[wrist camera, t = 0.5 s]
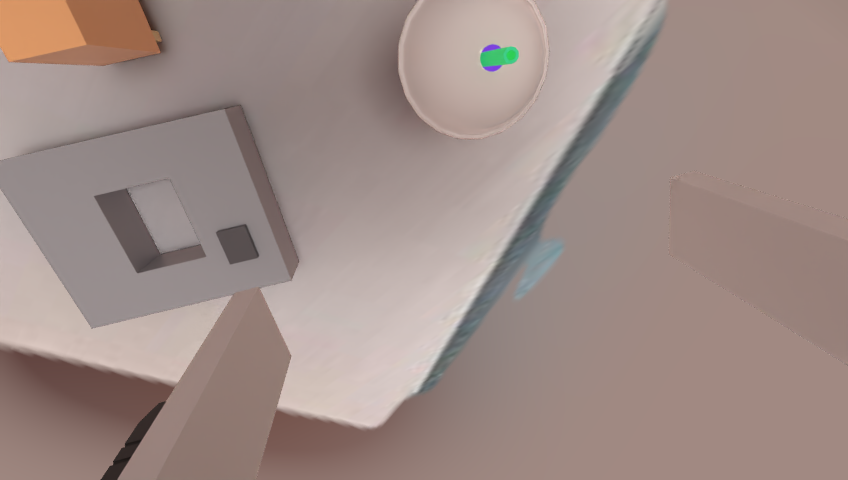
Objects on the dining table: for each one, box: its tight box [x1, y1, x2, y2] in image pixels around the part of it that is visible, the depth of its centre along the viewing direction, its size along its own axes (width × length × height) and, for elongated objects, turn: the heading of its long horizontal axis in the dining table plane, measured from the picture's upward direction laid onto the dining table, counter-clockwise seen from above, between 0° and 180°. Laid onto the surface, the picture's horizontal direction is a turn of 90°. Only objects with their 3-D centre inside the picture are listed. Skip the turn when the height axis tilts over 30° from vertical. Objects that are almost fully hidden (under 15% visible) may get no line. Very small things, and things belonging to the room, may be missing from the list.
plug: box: [0, 0, 162, 66], centre depth 26 cm, size 5×4×10 cm
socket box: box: [0, 105, 299, 328], centre depth 34 cm, size 15×18×4 cm
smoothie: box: [398, 0, 550, 139], centre depth 25 cm, size 8×8×20 cm
